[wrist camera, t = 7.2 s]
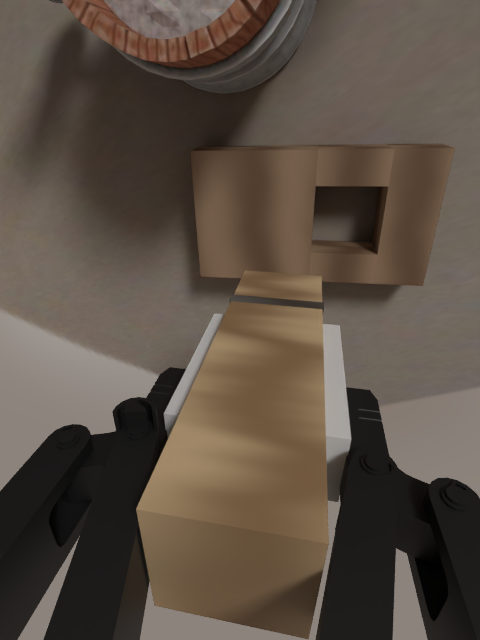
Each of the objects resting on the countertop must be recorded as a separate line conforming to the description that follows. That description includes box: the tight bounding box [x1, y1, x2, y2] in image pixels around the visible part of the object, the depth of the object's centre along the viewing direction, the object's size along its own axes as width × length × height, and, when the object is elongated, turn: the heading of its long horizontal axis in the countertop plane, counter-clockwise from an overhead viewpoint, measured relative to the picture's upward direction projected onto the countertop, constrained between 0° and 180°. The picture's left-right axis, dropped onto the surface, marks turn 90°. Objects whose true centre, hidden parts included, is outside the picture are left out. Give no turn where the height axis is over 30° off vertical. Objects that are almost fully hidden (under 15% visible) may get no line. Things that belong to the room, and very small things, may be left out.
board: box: [190, 144, 455, 286], centre depth 33 cm, size 20×11×4 cm, turn 91°
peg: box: [136, 270, 329, 639], centre depth 15 cm, size 4×4×14 cm
